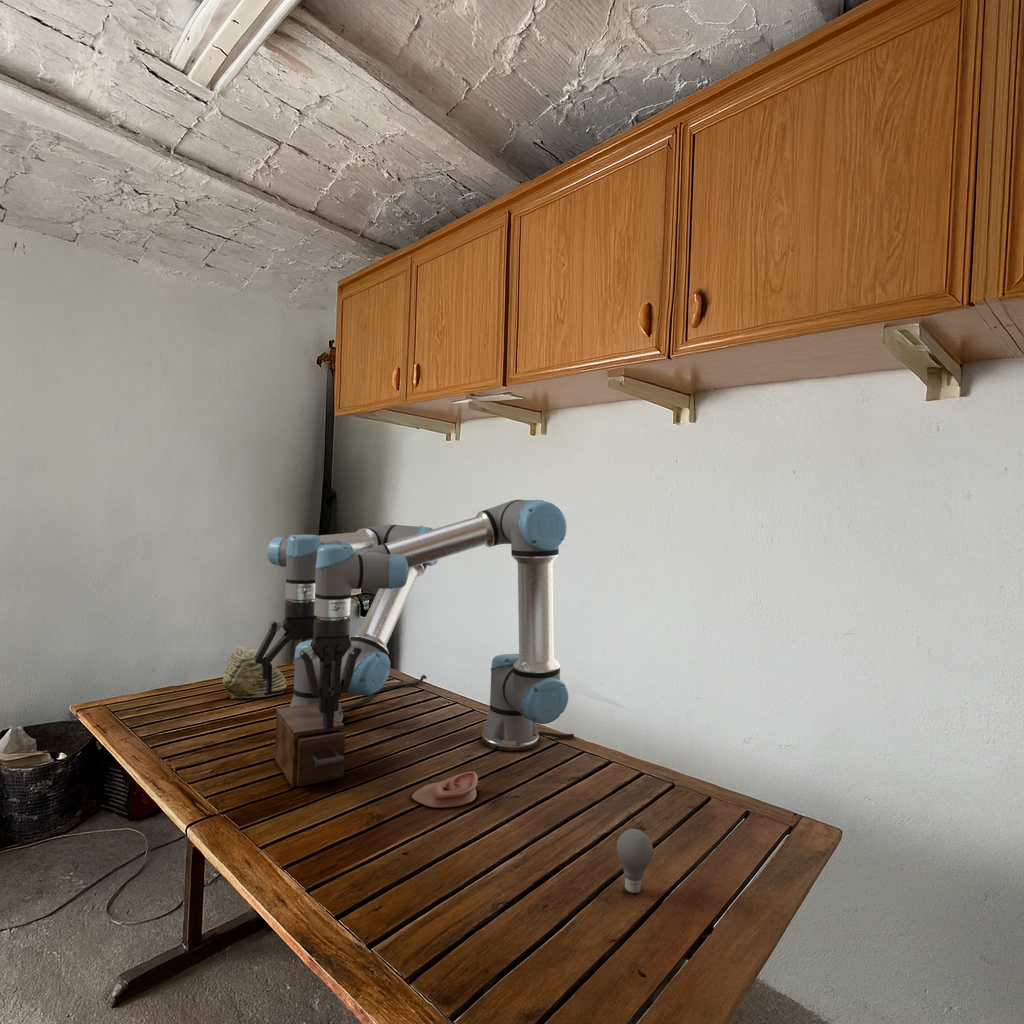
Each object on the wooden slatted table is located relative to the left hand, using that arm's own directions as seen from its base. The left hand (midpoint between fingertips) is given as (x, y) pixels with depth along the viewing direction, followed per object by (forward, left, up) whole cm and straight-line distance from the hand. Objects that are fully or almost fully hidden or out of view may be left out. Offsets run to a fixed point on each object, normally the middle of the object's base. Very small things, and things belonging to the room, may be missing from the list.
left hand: (298, 688), depth 151 cm
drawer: (+2, +11, -16) cm, 20 cm away
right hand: (+5, +19, -3) cm, 19 cm away
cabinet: (0, +5, -17) cm, 18 cm away
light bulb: (-9, +84, -17) cm, 87 cm away
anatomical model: (-12, +38, -17) cm, 44 cm away
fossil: (-19, -52, -17) cm, 58 cm away
